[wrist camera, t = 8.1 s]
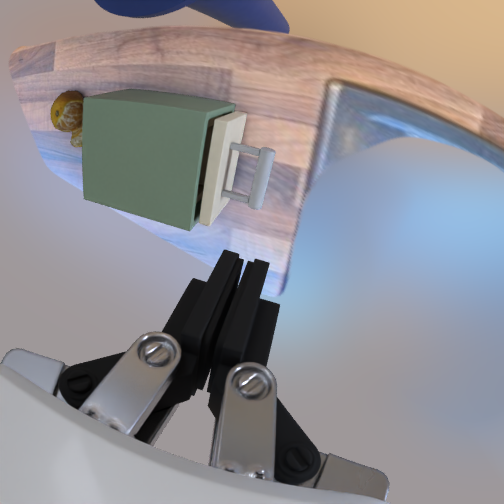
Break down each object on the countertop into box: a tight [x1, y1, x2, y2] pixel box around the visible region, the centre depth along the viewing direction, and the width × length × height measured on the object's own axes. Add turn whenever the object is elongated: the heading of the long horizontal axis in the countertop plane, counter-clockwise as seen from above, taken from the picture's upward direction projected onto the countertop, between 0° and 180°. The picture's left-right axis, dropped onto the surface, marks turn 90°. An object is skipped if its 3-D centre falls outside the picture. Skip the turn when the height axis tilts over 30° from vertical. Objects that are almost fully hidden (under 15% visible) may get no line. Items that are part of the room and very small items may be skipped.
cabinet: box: [82, 89, 235, 231], centre depth 30 cm, size 14×12×9 cm
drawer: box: [196, 111, 275, 226], centre depth 30 cm, size 17×10×7 cm, turn 78°
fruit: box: [51, 91, 84, 147], centre depth 32 cm, size 8×8×4 cm
